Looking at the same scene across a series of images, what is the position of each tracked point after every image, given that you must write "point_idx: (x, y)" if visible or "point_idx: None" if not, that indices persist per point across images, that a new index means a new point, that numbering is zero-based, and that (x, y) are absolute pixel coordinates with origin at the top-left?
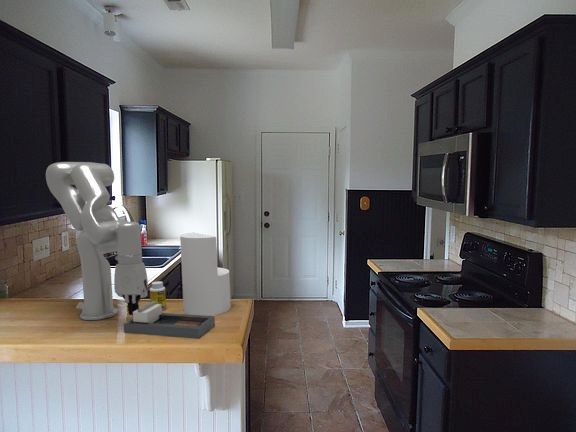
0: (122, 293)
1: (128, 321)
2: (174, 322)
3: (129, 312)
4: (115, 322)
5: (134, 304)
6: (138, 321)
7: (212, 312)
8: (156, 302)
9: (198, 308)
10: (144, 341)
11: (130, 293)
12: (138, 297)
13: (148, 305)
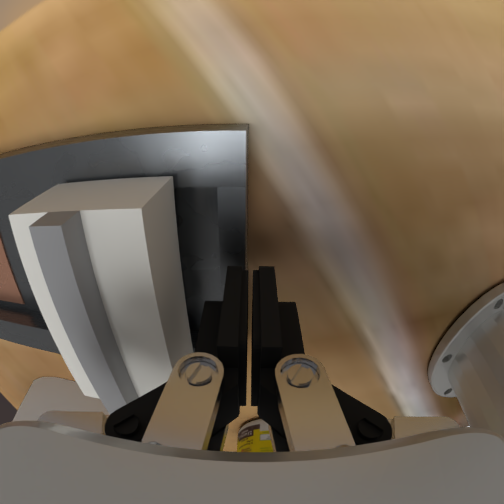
0: (370, 463)
1: (237, 189)
2: (26, 283)
3: (263, 277)
4: (404, 283)
5: (208, 353)
6: (122, 179)
7: (30, 387)
8: (260, 451)
9: (50, 401)
10: (42, 50)
11: (152, 472)
12: (117, 417)
13: (72, 344)
